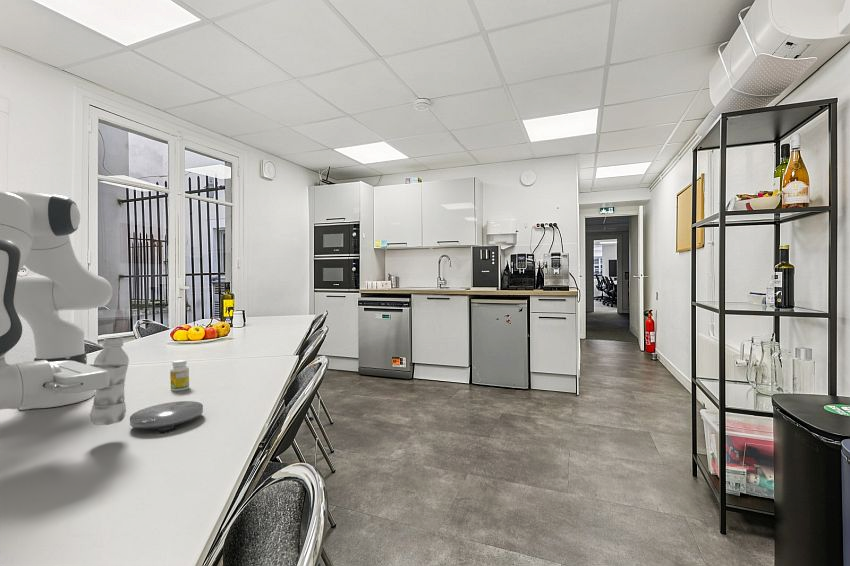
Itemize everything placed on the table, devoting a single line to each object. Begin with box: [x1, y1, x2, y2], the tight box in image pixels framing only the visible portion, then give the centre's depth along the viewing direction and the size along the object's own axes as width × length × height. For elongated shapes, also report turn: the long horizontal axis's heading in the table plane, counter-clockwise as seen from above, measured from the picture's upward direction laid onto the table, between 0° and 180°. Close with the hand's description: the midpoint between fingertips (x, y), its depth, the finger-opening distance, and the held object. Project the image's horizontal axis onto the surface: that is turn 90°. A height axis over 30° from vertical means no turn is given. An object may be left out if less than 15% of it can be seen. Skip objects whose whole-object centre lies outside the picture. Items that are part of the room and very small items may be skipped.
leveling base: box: [129, 400, 204, 434], centre depth 102 cm, size 16×16×3 cm
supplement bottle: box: [169, 359, 190, 392], centre depth 132 cm, size 5×5×10 cm
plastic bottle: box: [89, 337, 130, 426], centre depth 92 cm, size 6×7×20 cm
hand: (115, 368), depth 92 cm, fingers closed on plastic bottle, 6 cm apart
